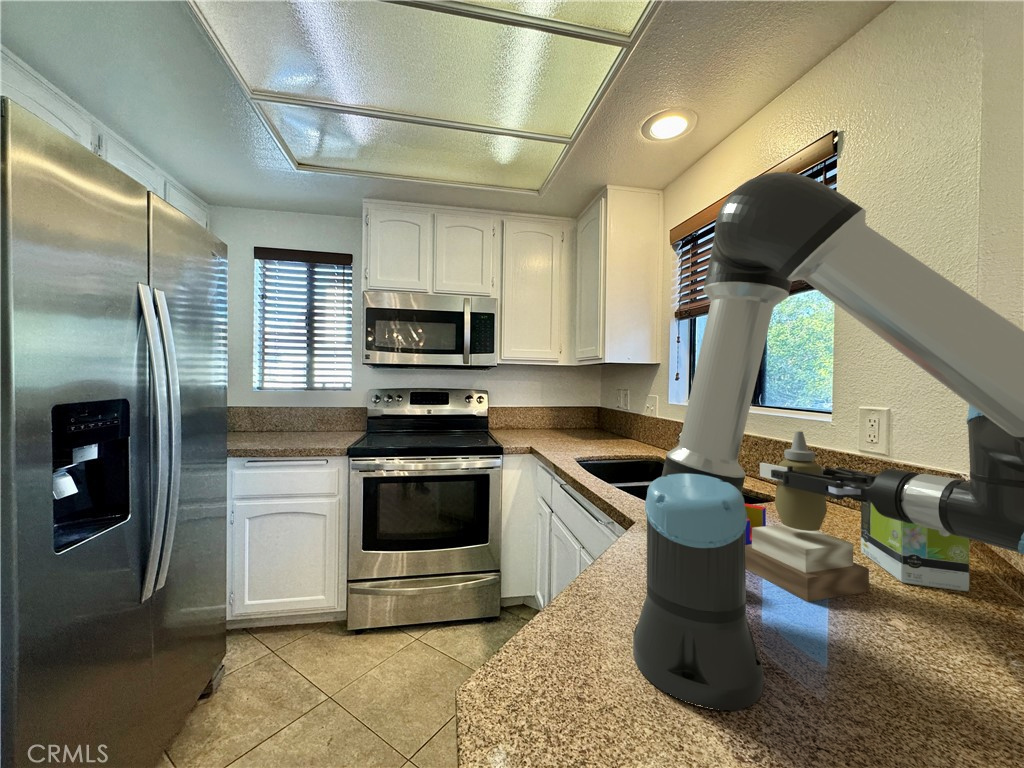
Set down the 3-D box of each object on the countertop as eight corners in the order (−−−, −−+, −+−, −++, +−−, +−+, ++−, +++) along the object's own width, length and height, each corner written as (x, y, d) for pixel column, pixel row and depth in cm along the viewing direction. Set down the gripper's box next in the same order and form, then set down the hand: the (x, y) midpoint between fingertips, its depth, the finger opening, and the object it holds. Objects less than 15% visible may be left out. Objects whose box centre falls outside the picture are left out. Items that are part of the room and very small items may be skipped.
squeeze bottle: (824, 524, 76) (823, 430, 76) (830, 537, 69) (829, 434, 69) (774, 517, 80) (773, 428, 81) (775, 529, 73) (774, 432, 74)
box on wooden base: (807, 601, 66) (807, 554, 66) (739, 565, 80) (739, 525, 80) (869, 591, 70) (868, 545, 70) (794, 558, 83) (793, 520, 83)
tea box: (973, 593, 69) (972, 509, 69) (900, 584, 72) (900, 503, 73) (917, 558, 83) (916, 488, 84) (858, 552, 87) (858, 484, 87)
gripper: (869, 531, 55) (736, 490, 77) (963, 519, 60) (812, 484, 82) (868, 477, 55) (735, 452, 77) (962, 469, 60) (812, 448, 82)
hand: (775, 468), depth 80 cm, fingers closed on squeeze bottle, 6 cm apart
